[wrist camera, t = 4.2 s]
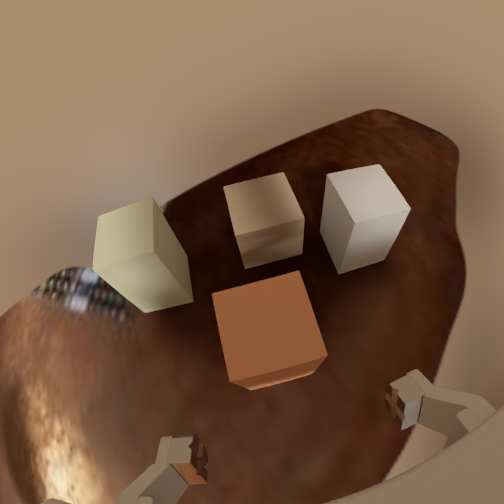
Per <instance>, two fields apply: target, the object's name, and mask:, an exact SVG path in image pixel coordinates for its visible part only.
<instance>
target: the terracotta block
mask: <svg viewBox="0 0 504 504" xmlns="http://www.w3.org/2000/svg"><path fill="white" fill-rule="evenodd" d="M212 297H213V302H214V308H215V313H216V318H217V323H218V328H219V333H220V338H221V343H222V348H223V353H224V357H225V362H226V366H227V371H228V375H229V380H230V382H232V383H234V384H237V385H239V386H242V387H245V388H247V389H250V390H254V389H258V388H262V387H266V386H270V385H274V384H278V383H282V382H285V381H289V380H293V379H296V378H300V377H303V376H306V375H310V374H312V373H313V372H314V371H315V370H316V369H317V368H318V366H319V365H320V364H321V363H322V362H323V361H324V359H325V358H326V357H327V356H328V355H327V351H326V348H325V345H324V342H323V339H322V336H321V333H320V330H319V327H318V324H317V321H316V318H315V315H314V312H313V309H312V306H311V303H310V300H309V297H308V294H307V292H306V289H305V286H304V283H303V280H302V277H301V275H300V272H299V270H298V271H295V272H291V273H288V274H284V275H280V276H276V277H273V278H269V279H265V280H262V281H258V282H254V283H250V284H246V285H243V286H239V287H235V288H231V289H227V290H223V291H219V292H215V293H212Z"/></svg>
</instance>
